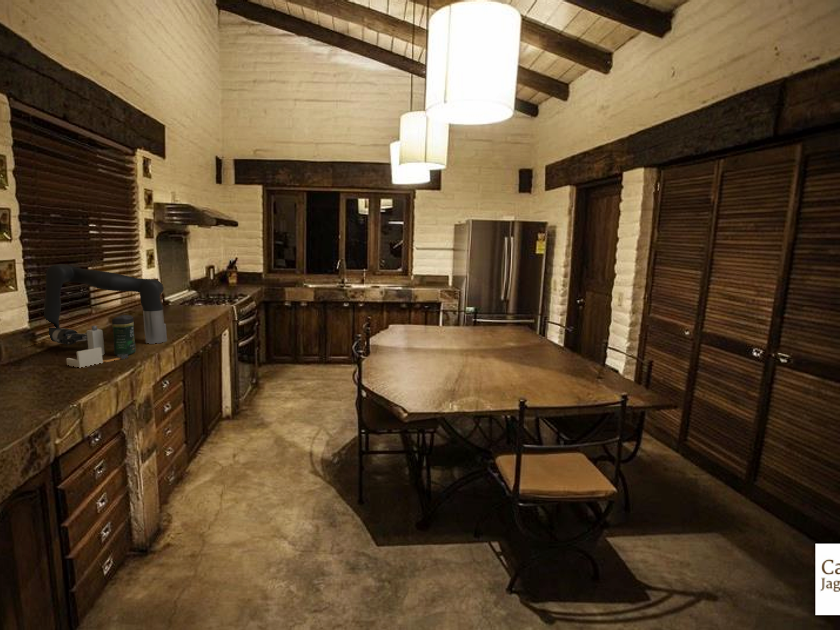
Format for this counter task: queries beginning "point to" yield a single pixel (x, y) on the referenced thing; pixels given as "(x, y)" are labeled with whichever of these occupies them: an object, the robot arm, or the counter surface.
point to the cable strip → (111, 360)
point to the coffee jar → (123, 334)
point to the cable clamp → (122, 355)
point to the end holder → (86, 358)
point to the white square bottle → (95, 338)
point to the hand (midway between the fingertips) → (84, 339)
